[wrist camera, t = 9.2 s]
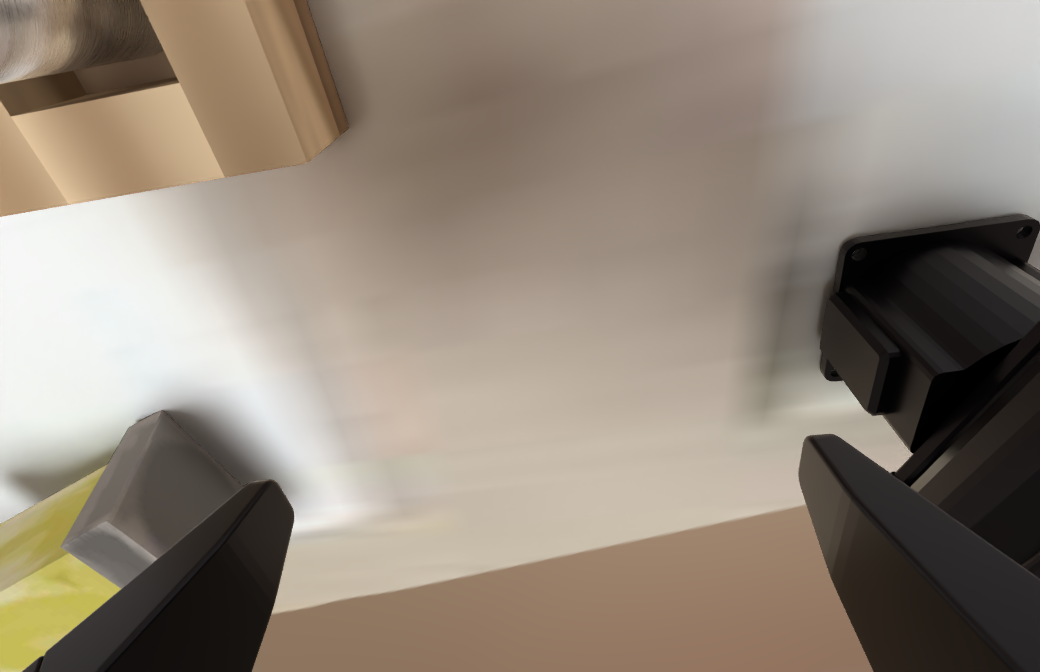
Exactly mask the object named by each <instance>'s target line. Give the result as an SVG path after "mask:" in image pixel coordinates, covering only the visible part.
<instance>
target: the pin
mask: <svg viewBox="0 0 1040 672" xmlns="http://www.w3.org/2000/svg"><path fill="white" fill-rule="evenodd" d="M162 50H163V48H162V45H161V43H160V41H159V39H158V37H157V35H156V33H155V31H154V29H153V27H152V25H151V23H150V20H149V18H148V16H147V14H146V12H145V10H144V8H143V6H142V4H141V2H140V0H0V84H3V83H9V82H14V81H20V80H25V79H31V78H36V77H42V76H47V75H52V74H58V73H63V72H69V71H74V70H80V69H85V68H91V67H96V66H102V65H107V64H113V63H118V62H124V61H129V60H135V59H140V58H146V57H150V56H153V55H155V54H157V53H159V52H161V51H162Z"/></svg>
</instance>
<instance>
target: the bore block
mask: <svg viewBox="0 0 1040 672" xmlns="http://www.w3.org/2000/svg"><path fill="white" fill-rule="evenodd" d="M140 2H141V4H142V6H143V8H144V10H145V12H146V14H147V16H148V18H149V20H150V23H151V25H152V27H153V29H154V31H155V33H156V35H157V37H158V39H159V41H160V43H161V45H162V48H163V50H162V51H161V52H159V53H157V54H155V55H153V56H150V57H146V58H140V59H135V60H129V61H124V62H118V63H113V64H107V65H102V66H96V67H91V68H85V69H80V70H74V71H69V72H63V73H58V74H52V75H47V76H42V77H36V78H31V79H25V80H20V81H14V82H9V83H3V84H0V217H2V216H7V215H13V214H19V213H25V212H30V211H36V210H42V209H47V208H53V207H59V206H65V205H70V204H76V203H82V202H88V201H93V200H99V199H105V198H110V197H116V196H122V195H128V194H133V193H139V192H145V191H150V190H156V189H162V188H168V187H173V186H179V185H185V184H191V183H196V182H202V181H208V180H213V179H219V178H225V177H231V176H236V175H242V174H248V173H253V172H259V171H265V170H271V169H276V168H282V167H288V166H294V165H299V164H305V163H308V162H309V161H311V160H312V159H313V158H314V157H315V156H316V155H318V154H319V153H320V152H321V151H322V150H323V149H325V148H326V147H327V146H328V145H329V144H331V143H332V142H333V141H334V140H335V139H336V138H338V137H339V136H340V135H341V134H342V133H343V132H345V131H346V130H347V129H348V128H349V127H348V124H347V121H346V118H345V115H344V112H343V109H342V106H341V103H340V100H339V97H338V94H337V91H336V88H335V85H334V82H333V79H332V76H331V73H330V70H329V67H328V64H327V61H326V58H325V55H324V52H323V49H322V46H321V43H320V40H319V37H318V34H317V31H316V28H315V25H314V22H313V19H312V16H311V13H310V10H309V7H308V4H307V1H306V0H140Z"/></svg>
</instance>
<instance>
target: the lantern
mask: <svg viewBox="0 0 1040 672" xmlns="http://www.w3.org/2000/svg"><path fill="white" fill-rule="evenodd" d="M242 488H243V486H242V485H241V484H240V483H238V482H237V481H236V480H235V479H234V478H233V477H232V476H231V475H230V474H229V473H228V472H227V471H226V470H225V469H224V468H223V467H222V466H221V465H220V464H218V463H217V462H216V461H215V460H214V459H213V458H212V457H211V456H210V455H209V454H208V453H207V452H206V451H205V450H204V449H203V448H202V447H201V446H200V445H198V444H197V443H196V442H195V441H194V440H193V439H192V438H191V437H190V436H189V435H188V434H187V433H186V432H185V431H184V430H183V429H182V428H181V427H180V426H178V425H177V424H176V423H175V422H174V421H173V420H172V419H171V418H170V417H169V416H168V415H167V414H166V413H165V412H164V411H163V410H161V411H159V412H156V413H154V414H152V415H150V416H149V417H147V418H145V419H143V420H141V421H140V422H138V423H136V424H134V425H132V426H131V427H129V428H128V430H127V431H126V433H125V435H124V437H123V438H122V440H121V442H120V443H119V445H118V447H117V449H116V450H115V452H114V454H113V456H112V457H111V459H110V461H109V463H108V464H107V465H105V466H103V467H102V468H100V469H98V470H96V471H95V472H93V473H91V474H89V475H87V476H86V477H84V478H82V479H80V480H78V481H77V482H75V483H73V484H71V485H69V486H68V487H66V488H64V489H62V490H60V491H59V492H57V493H55V494H53V495H52V496H50V497H48V498H46V499H44V500H43V501H41V502H39V503H37V504H35V505H34V506H32V507H30V508H28V509H26V510H25V511H23V512H21V513H19V514H17V515H16V516H14V517H12V518H10V519H9V520H7V521H5V522H3V523H1V524H0V672H22V671H23V670H24V669H25V668H27V667H28V666H29V665H30V664H31V663H33V662H34V661H35V660H36V659H37V658H39V657H40V656H44V655H45V652H46V651H47V650H48V649H50V648H51V647H52V646H53V645H54V644H56V643H57V642H58V641H59V640H60V639H62V638H63V637H64V636H65V635H66V634H68V633H69V632H70V631H71V630H72V629H74V628H75V627H76V626H77V625H78V624H80V623H81V622H82V621H83V620H84V619H86V618H87V617H88V616H89V615H90V614H92V613H93V612H94V611H95V610H96V609H98V608H99V607H100V606H101V605H102V604H104V603H105V602H106V601H107V600H108V599H110V598H111V597H112V596H113V595H114V594H116V593H117V592H118V591H119V590H120V589H122V588H123V587H124V586H125V585H126V584H128V583H129V582H130V581H131V580H132V579H134V578H135V577H136V576H137V575H138V574H140V573H141V572H142V571H143V570H144V569H146V568H147V567H148V566H149V565H151V564H152V563H153V562H154V561H155V560H157V559H158V558H159V557H160V556H161V555H163V554H164V553H165V552H166V551H167V550H169V549H170V548H171V547H172V546H173V545H175V544H176V543H177V542H178V541H179V540H181V539H182V538H183V537H184V536H185V535H187V534H188V533H189V532H190V531H191V530H193V529H194V528H195V527H196V526H197V525H199V524H200V523H201V522H202V521H203V520H205V519H206V518H207V517H208V516H209V515H211V514H212V513H213V512H214V511H215V510H217V509H218V508H219V507H220V506H221V505H223V504H224V503H225V502H226V501H227V500H229V499H230V498H231V497H232V496H233V495H235V494H236V493H237V492H238V491H239V490H241V489H242Z"/></svg>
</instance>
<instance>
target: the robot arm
mask: <svg viewBox="0 0 1040 672" xmlns="http://www.w3.org/2000/svg"><path fill="white" fill-rule="evenodd" d="M1022 227H1023V229H1022V230H1021V231H1020V232H1019V233H1017V231H1018V230H1019V229H1020V228H1022ZM1039 231H1040V223H1039V221H1037V220H1035V219H1033V218H1031V217H1029V216H1027V215H1016V216H1008V217H1001V218H994V219H987V220H980V221H973V222H965V223H958V224H951V225H944V226H937V227H929V228H922V229H915V230H908V231H901V232H894V233H886V234H879V235H872V236H865V237H858V238H854V239H851V240H849V241H847V242H846V243H845V244H844V245H843V246H842V248H841V250H840V254H839V260H838V266H837V272H836V278H835V284H834V290H833V293H832V294H831V295H830V296H829V298H828V299H827V305H826V312H825V318H824V324H823V330H822V336H821V342H820V349H821V351H822V352H823V355H822V361H821V367H820V370H821V372H822V374H823V375H824V377H825V378H826V379H827V380H829V381H844V382H845V383H846V385H847V386H848V388H849V389H850V390H851V392H852V393H853V394H854V396H855V397H856V398H857V400H858V401H859V403H860V404H861V405H862V407H863V408H864V409H865V410H866V411H867V412H868V413H870V414H871V415H872V416H876V415H883V417H884V418H885V419H886V420H887V422H888V423H889V424H890V426H891V427H892V428H893V430H894V431H895V432H896V434H897V435H898V436H899V437H900V439H901V440H902V441H903V443H904V444H905V445H906V447H907V448H908V449H909V450H910V452H912V453H913V455H912V456H911V457H910V458H909V459H908V460H907V461H906V462H905V463H904V464H903V465H902V466H901V467H900V468H899V469H898V470H897V472H891V473H889V472H888V471H886V470H885V469H884V468H882V467H881V466H879V465H878V464H876V463H875V462H874V461H872V460H871V459H869V458H868V457H867V456H865V455H864V454H862V453H861V452H859V451H858V450H857V449H855V448H854V447H852V446H851V445H850V444H848V443H847V442H845V441H844V440H842V439H841V438H840V437H838V436H836V435H834V434H822V435H810V436H807V437H806V438H805V440H804V442H803V448H802V454H801V459H800V465H799V482H800V486H801V489H802V493H803V496H804V499H805V502H806V505H807V508H808V511H809V514H810V517H811V519H812V523H813V526H814V529H815V532H816V535H817V538H818V541H819V544H820V547H821V550H822V553H823V556H824V559H825V562H826V565H827V568H828V571H829V574H830V576H831V579H832V581H833V583H834V586H835V588H836V590H837V593H838V595H839V597H840V600H841V602H842V604H843V606H844V608H845V610H846V613H847V615H848V617H849V619H850V621H851V624H852V626H853V628H854V630H855V632H856V634H857V636H858V639H859V641H860V643H861V645H862V648H863V650H864V652H865V654H866V656H867V658H868V660H869V663H870V665H871V667H872V669H873V672H1040V271H1039V270H1038V269H1036V268H1035V267H1033V266H1031V265H1030V264H1028V263H1027V262H1028V259H1029V257H1030V254H1031V252H1032V249H1033V246H1034V244H1035V241H1036V238H1037V236H1038V233H1039ZM1016 233H1017V234H1016ZM860 248H861V251H860V253H858V254H857V255H855V256H852V254H853V252H854V251H856V250H857V249H860ZM833 369H835V370H834V371H832V370H833ZM293 523H294V511H293V508H292V506H291V504H290V503H289V501H288V499H287V498H286V496H285V494H284V493H283V491H282V489H281V488H280V486H279V484H278V483H277V482H276V481H274V480H258V481H252V482H250V483H248V484H247V485H245V486H244V487H243V488H242V489H241V490H239V491H238V492H237V493H236V494H235V495H233V496H232V497H231V498H230V499H229V500H227V501H226V502H225V503H224V504H223V505H221V506H220V507H219V508H218V509H217V510H215V511H214V512H213V513H212V514H211V515H209V516H208V517H207V518H206V519H205V520H203V521H202V522H201V523H200V524H199V525H197V526H196V527H195V528H194V529H193V530H191V531H190V532H189V533H188V534H187V535H185V536H184V537H183V538H182V539H181V540H179V541H178V542H177V543H176V544H175V545H173V546H172V547H171V548H170V549H169V550H167V551H166V552H165V553H164V554H163V555H161V556H160V557H159V558H158V559H157V560H155V561H154V562H153V563H152V564H151V565H149V566H148V567H147V568H146V569H144V570H143V571H142V572H141V573H140V574H138V575H137V576H136V577H135V578H134V579H132V580H131V581H130V582H129V583H128V584H126V585H125V586H124V587H123V588H122V589H120V590H119V591H118V592H117V593H116V594H114V595H113V596H112V597H111V598H110V599H108V600H107V601H106V602H105V603H104V604H102V605H101V606H100V607H99V608H98V609H96V610H95V611H94V612H93V613H92V614H90V615H89V616H88V617H87V618H86V619H84V620H83V621H82V622H81V623H80V624H78V625H77V626H76V627H75V628H74V629H72V630H71V631H70V632H69V633H68V634H66V635H65V636H64V637H63V638H62V639H60V640H59V641H58V642H57V643H56V644H54V645H53V646H52V647H51V648H50V649H48V650H47V651H46V652H45V655H44V656H40V657H39V658H37V659H36V660H35V661H34V662H33V663H31V664H30V665H29V666H28V667H27V668H25V669H24V670H23V671H22V672H252V669H253V666H254V663H255V660H256V657H257V654H258V651H259V649H260V646H261V643H262V640H263V637H264V634H265V631H266V628H267V625H268V622H269V619H270V616H271V613H272V610H273V606H274V603H275V599H276V595H277V592H278V588H279V583H280V579H281V575H282V571H283V566H284V562H285V558H286V553H287V549H288V545H289V541H290V536H291V532H292V528H293Z"/></svg>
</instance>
